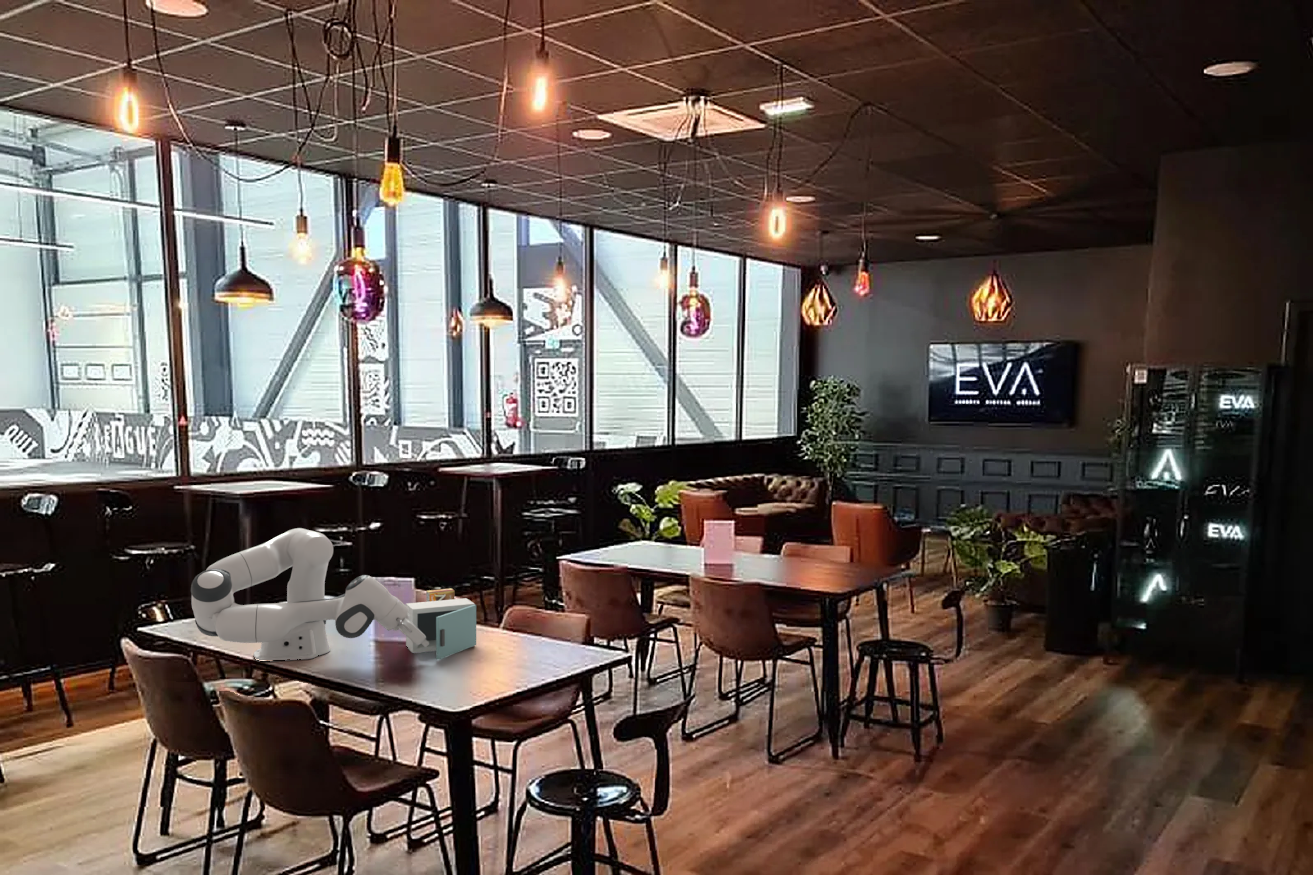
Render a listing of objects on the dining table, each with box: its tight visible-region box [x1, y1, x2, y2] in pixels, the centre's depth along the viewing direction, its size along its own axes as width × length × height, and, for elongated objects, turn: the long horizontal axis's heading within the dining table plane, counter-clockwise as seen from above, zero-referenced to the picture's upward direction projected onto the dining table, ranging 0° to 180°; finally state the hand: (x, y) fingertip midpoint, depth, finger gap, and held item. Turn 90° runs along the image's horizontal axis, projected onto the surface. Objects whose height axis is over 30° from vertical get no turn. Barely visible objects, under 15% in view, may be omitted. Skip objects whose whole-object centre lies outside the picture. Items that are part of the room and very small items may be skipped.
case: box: [405, 597, 476, 654], centre depth 304 cm, size 20×10×14 cm, turn 117°
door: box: [435, 604, 477, 661], centre depth 294 cm, size 20×2×13 cm, turn 157°
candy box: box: [425, 588, 456, 602], centre depth 320 cm, size 9×4×15 cm, turn 121°
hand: (426, 644), depth 285 cm, fingers closed
